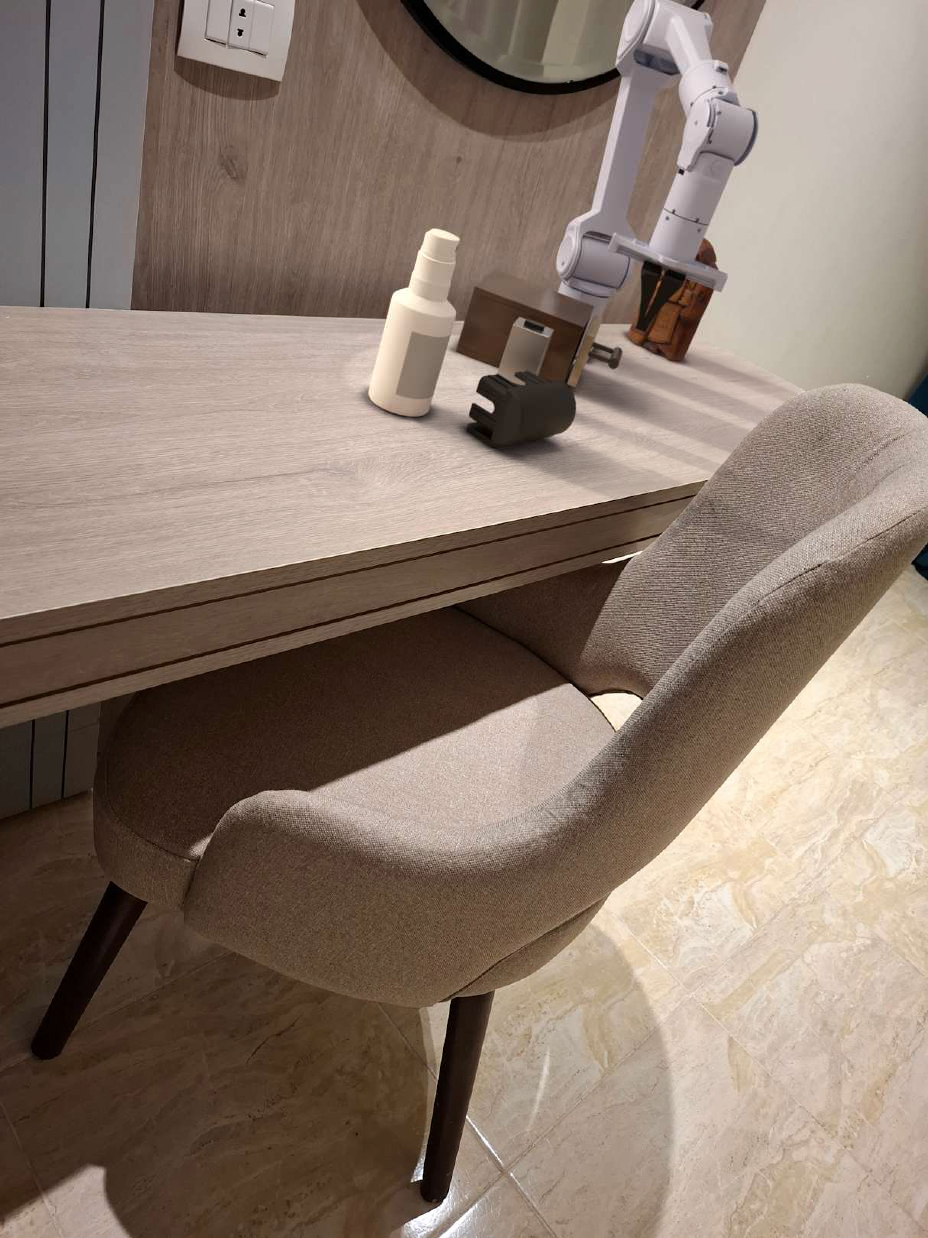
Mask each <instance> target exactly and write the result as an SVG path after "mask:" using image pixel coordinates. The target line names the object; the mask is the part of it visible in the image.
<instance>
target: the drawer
mask: <svg viewBox="0 0 928 1238" xmlns="http://www.w3.org/2000/svg"><path fill="white" fill-rule="evenodd" d="M603 319H604V317H603V316H602V317H600V316H597V315H595V316H594V318H593V320H592V322H591V324H590V326H589V328H588V330H587V332H586V334H585V336H584V339H583V342H582V344H581V347H580V350H579V352H578V355H577V357H575V360H574V363H573V365H572V368H571V370H570V373H569V376H568V379H567V382H566V384H567V385H568V386H569V387H573V388H576V387H577V385H578V382H579V380H580V378H581V377H582V373H583V371H584V369H585V367H586V364H587V362H588V361H587V359H588V356H589V358H592V359H594V360H597V361H599V362H602V363H605V364H607V366H608V368H610V369H611V370H615V369H617V368H619V366H620V362H621V359H622V356H623V353H624V352H623V349H622V348H621V347H619V346H616V347H614V348H612V347H609V346H607V345H605V344H601V343H598V342H596V341H595V340H596V338H597V335H598V332H599V330H600V327H601V325H602V322H603ZM592 347H593V349H597V350H600V351H602V352H605V353H607V354H610V356H609V357H608V356H605V355H602V354H600V353H596V352H594V351H593V350H592V351H591V349H592ZM588 360H589V359H588Z"/></svg>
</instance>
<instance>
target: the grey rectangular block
mask: <svg viewBox="0 0 928 1238" xmlns="http://www.w3.org/2000/svg"><path fill="white" fill-rule="evenodd" d="M553 332H554V330H553V329H551V328H548V327H545V325H544V324H541V323H538V322H535V321H533V320H530V319H524V318H521V317H519V318H518V319H517V320H516V322H515V323H514V324H513V326H512V329H511V332H510V336H509V339H508V342H507V345H506V348H505V351H504V354H503V357H502V360H501V363H500V367H498V370H497V373H496V374H499V375H501V376H503V377H504V378H506V379H508V380H509V381H511V382H513V383H516V384H520V385H525V383H524V382H523V381H521V380H520V379H518V378H516V377H515V376H514V375H515V372H520V371H521V372H524V371H530V372H532V373H534V374H535V375H537V376H538V375H539V372H540V369H541V366H542V363H543V360H544V358H545V355H546V352H547V349H548V346H549V343H550V340H551V338H552V335H553Z"/></svg>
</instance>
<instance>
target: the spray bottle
mask: <svg viewBox="0 0 928 1238" xmlns="http://www.w3.org/2000/svg"><path fill="white" fill-rule="evenodd" d="M460 240H461V239H460V237H459V236H457V235H455V234H453V233H451V232H449V231H446V230H443V229H439V228H431V229H430V230H428V231H426V232H425V235H424V238H423V243H422V245H421V246H420V249H419V250H418V252H417V256H416V259H415V260H416V261H415V265H414V268H413V271H412V272H411V277H410V281H409V284H408V287H404V288H401V289H398V290H396V291H394V292H393V293H392V296H391V299H390V302H389V307H388V311H387V315H386V319H385V324H384V328H383V330H382V331H383V332H382V335H381V339H380V344H379V349H378V352H377V356H376V360H375V364H374V367H373V372H372V376H371V380H370V383H369V389H368V397H369V399H370V400H371V401H372V403H374V404H375V406H377V407H379V408H381V409H383V410H385V411H387V412H390V413H392V414H396V415H399V416H405V417H422V416H425V415H426V414H427V413H428V412H429V411H430V409H431V405H432V402H433V397H434V395H435V391H436V387H437V384H438V380H439V377H440V374H441V370H442V368H443V367H442V365H443V363H444V360H445V356H446V353H447V349H448V346H449V342H450V339H451V336H452V332H453V328H454V325H455V322H456V317H457V311H456V308H455V307H454V306H453V305H452V304H451V302H450V301H449V300H448V296H449V292H450V289H451V286H452V279H453V275H454V271H455V269H456V264H457V261H456V258H457V252H458V248H459V245H460Z"/></svg>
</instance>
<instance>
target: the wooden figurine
mask: <svg viewBox="0 0 928 1238" xmlns="http://www.w3.org/2000/svg"><path fill="white" fill-rule="evenodd" d="M695 261H698V262H700V263H702V264H705V265H707V266H709V267H712V268H714V269H716V270H719V267H718V265H717V261H718V260H717V255H716V252H715V248H714V246H713V245H712V243H711V242H710V240H708V239H707V238H705V237H704V238H703V241H702V243H701V245H700V248H699V250H698V253H697V255H696V257H695ZM656 262H658V261H656ZM658 263H660V262H658ZM660 264H662V263H660ZM663 265H665V264H663ZM666 266H668V265H666ZM669 267H670V266H669ZM671 268H673V267H671ZM674 269H677V268H674ZM677 270H679V271H682V270H681V269H677ZM682 272H683V271H682ZM664 273H665V271H664V270H662V274H661V276H660V279H659V282H658V284H657V287H656V289H655V291H654V294H653V296H652V299H651V301H650V304H649V306H648V310H647V313H648V311H649V309H650V307H651V305H652V303H653V300H654V298H655V295H656V293H657V290H658V288H659V285H660V283H661V280H662V278H663V275H664ZM714 292H715V290H713V288H710V287H708V286H705V285H702V284H699V283H697V282H694V281H691V280H689V279H686V278H685V280H684V283H683V286H682V287H681V288H680V289H679V290H678V291H677V292H676V293H675V294H674V295H673V296H672V297H671V298H670V299H669V300H668V301H667V302H666V303H665V304H664V306H663V307H662V308H661V309H660V310H659V312H658V313H657V314H656V316H655V317H654V318H653V320H652V321H651V323H650V325H649V326H648V328H647V330H646V332H644V331H641V330H638V329H636V328H635V327H636V324H637V321H638V316H639V310H640V304H639V305H638V308H637V310H636V313H635V315H634V317H633V320H632V323H631V324H630V327H629V329H628V333H627V336H628V339H629V340H630V341H631V342H633V343H634V344H636V345H637V346H642V347H643V348H645V349H646V350H648V351H651V352H653V353H654V354H658V355H663V356H664V357H666V358H667V359H668V360H670V361H681V360H684V358H685V357H686V354H687V352H688V351H689V348H690V346H691V344H692V341H693V339H694V337H695V335H696V332H697V330H698V328H699V326H700V323H701V321H702V318H703V316H704V315H705V312H706V310H707V308H708V306H709V304H710V301H711V299H712V297H713V295H714ZM647 313H646V315H647ZM645 317H646V316H645Z"/></svg>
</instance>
